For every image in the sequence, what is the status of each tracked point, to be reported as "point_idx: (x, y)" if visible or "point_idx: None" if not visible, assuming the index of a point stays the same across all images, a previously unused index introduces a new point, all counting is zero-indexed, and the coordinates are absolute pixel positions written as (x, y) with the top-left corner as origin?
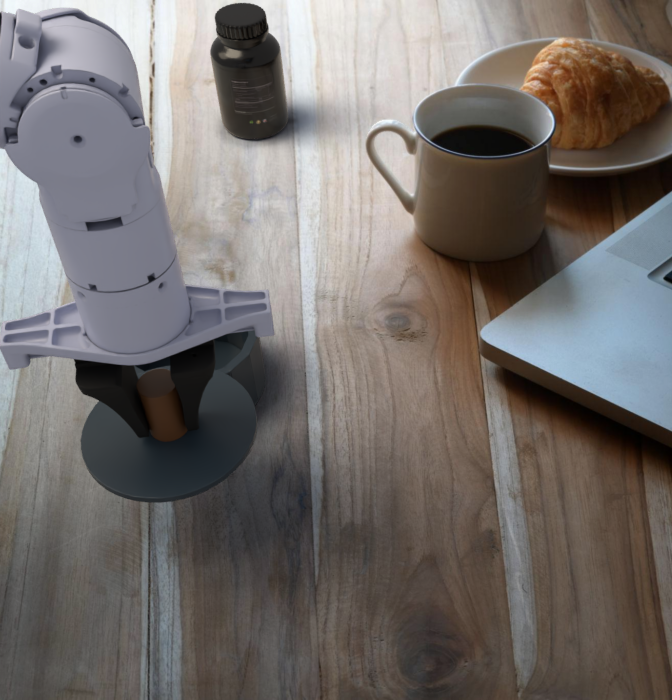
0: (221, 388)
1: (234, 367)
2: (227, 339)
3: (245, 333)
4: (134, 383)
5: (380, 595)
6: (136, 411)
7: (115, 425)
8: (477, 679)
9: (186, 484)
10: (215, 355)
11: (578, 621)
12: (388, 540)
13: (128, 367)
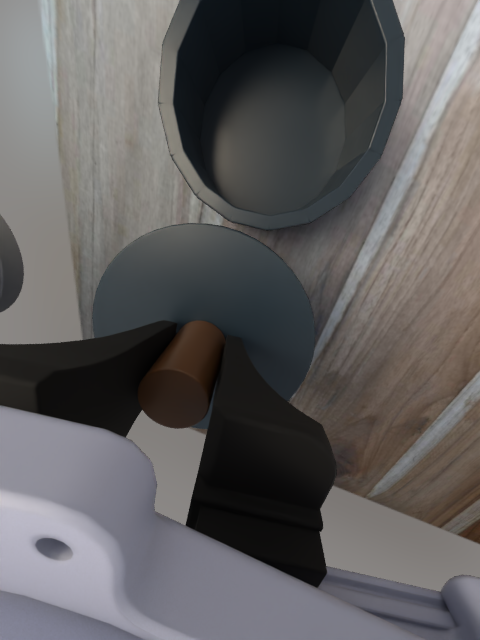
0: (283, 308)
1: (318, 217)
2: (332, 68)
3: (363, 100)
4: (136, 378)
5: (325, 426)
6: (140, 409)
7: (134, 313)
8: (348, 485)
9: (204, 420)
10: (305, 95)
11: (427, 485)
12: (353, 395)
13: (107, 419)
